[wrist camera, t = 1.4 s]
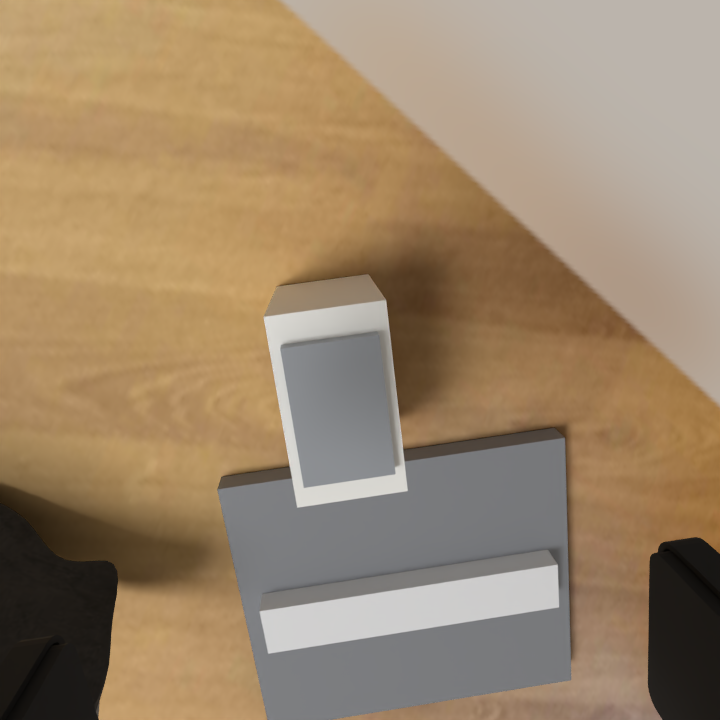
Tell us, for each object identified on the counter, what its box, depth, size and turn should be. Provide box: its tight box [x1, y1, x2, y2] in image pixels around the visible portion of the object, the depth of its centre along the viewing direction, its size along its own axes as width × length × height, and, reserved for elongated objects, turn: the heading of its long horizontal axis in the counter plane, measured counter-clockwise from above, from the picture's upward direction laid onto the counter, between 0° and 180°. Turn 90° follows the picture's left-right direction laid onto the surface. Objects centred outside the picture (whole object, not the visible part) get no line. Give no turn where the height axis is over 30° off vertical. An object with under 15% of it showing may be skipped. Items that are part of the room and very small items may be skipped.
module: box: [264, 274, 408, 508], centre depth 23 cm, size 7×4×7 cm, turn 7°
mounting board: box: [217, 428, 571, 720], centre depth 28 cm, size 14×16×2 cm
